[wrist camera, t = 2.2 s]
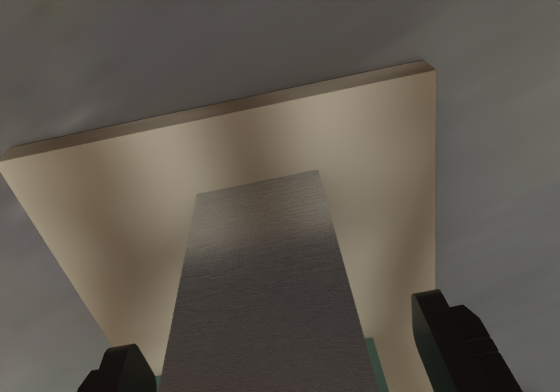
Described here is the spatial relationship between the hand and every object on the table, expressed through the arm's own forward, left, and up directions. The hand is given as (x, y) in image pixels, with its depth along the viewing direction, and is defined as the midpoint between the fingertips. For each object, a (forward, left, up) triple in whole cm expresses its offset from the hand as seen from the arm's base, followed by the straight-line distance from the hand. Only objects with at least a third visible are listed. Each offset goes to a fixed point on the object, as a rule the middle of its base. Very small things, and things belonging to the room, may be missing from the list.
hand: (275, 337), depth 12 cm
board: (+1, +7, -6) cm, 10 cm away
